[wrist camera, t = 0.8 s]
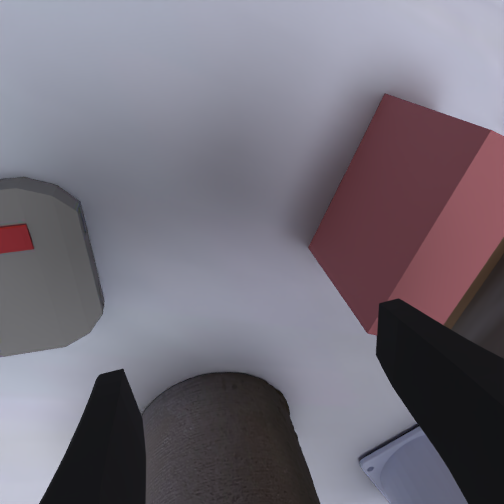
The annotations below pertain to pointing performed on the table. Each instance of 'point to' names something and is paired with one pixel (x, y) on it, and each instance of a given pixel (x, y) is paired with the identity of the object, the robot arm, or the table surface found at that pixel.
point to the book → (413, 212)
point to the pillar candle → (224, 445)
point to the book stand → (483, 307)
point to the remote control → (44, 269)
